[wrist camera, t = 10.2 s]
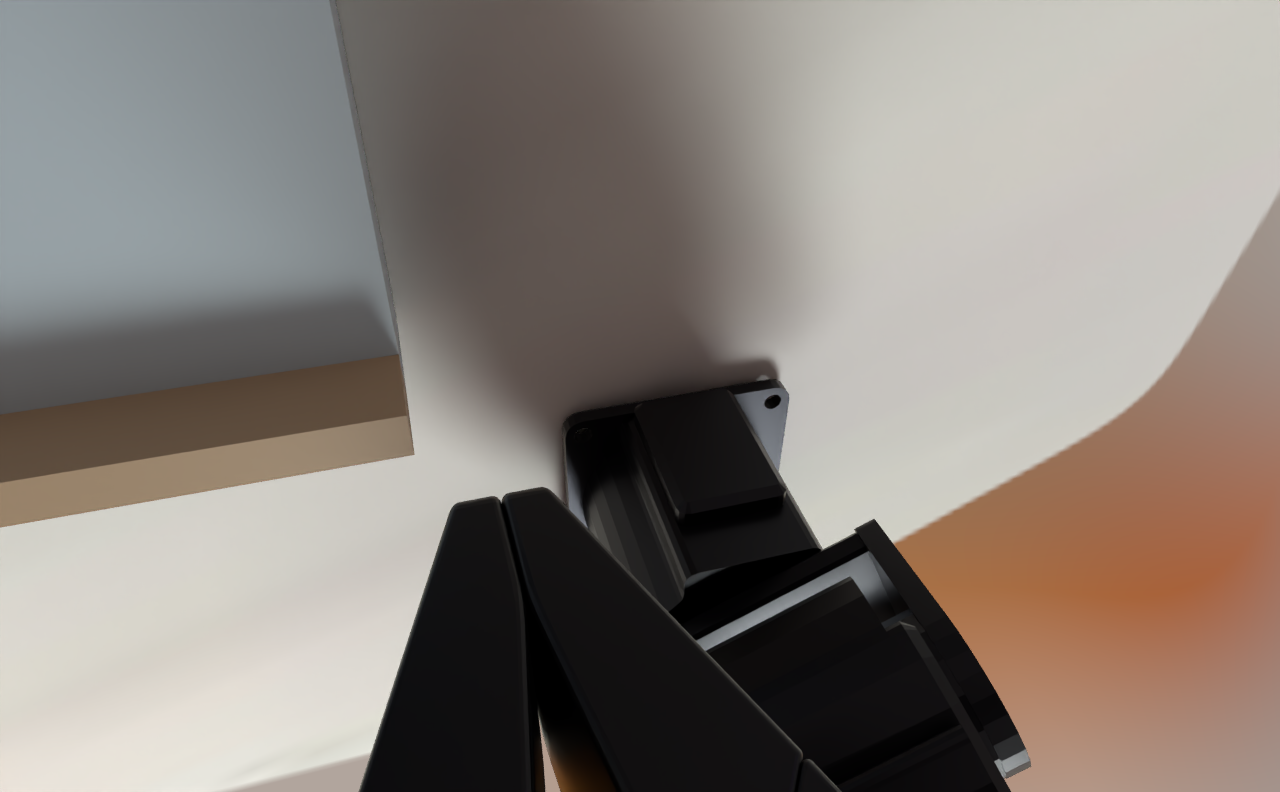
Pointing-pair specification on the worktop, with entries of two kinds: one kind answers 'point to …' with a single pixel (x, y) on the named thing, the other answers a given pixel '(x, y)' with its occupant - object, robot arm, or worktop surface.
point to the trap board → (185, 255)
